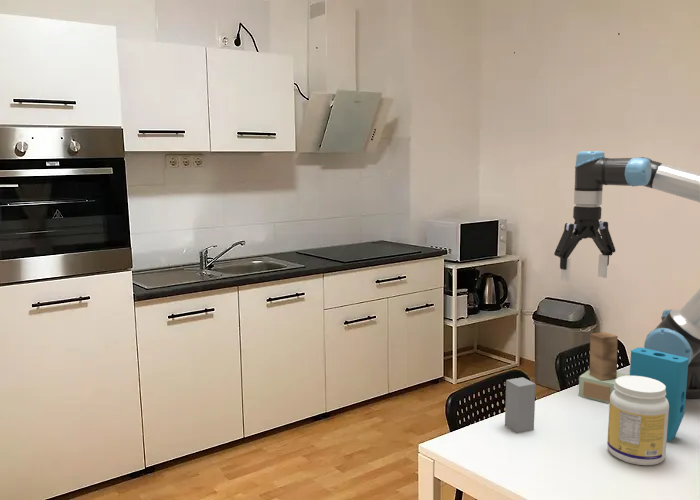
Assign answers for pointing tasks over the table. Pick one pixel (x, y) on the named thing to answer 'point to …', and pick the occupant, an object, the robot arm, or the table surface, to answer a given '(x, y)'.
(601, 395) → the base block
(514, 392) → the slate block
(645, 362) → the block
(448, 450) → the table surface
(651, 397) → the supplement tub
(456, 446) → the table surface
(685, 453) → the table surface
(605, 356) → the walnut block
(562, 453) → the table surface
